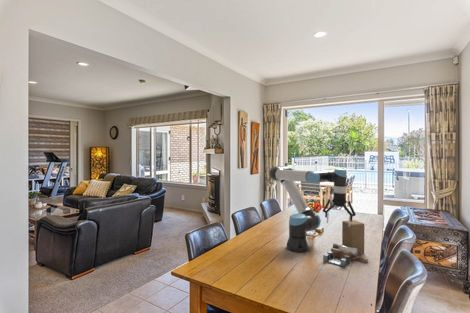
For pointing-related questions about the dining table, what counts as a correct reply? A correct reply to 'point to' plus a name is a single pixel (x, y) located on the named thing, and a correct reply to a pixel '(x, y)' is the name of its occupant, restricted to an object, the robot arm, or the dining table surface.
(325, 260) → the v block
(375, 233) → the dining table surface
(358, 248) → the wooden block
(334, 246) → the axle
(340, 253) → the wooden clevis bracket
